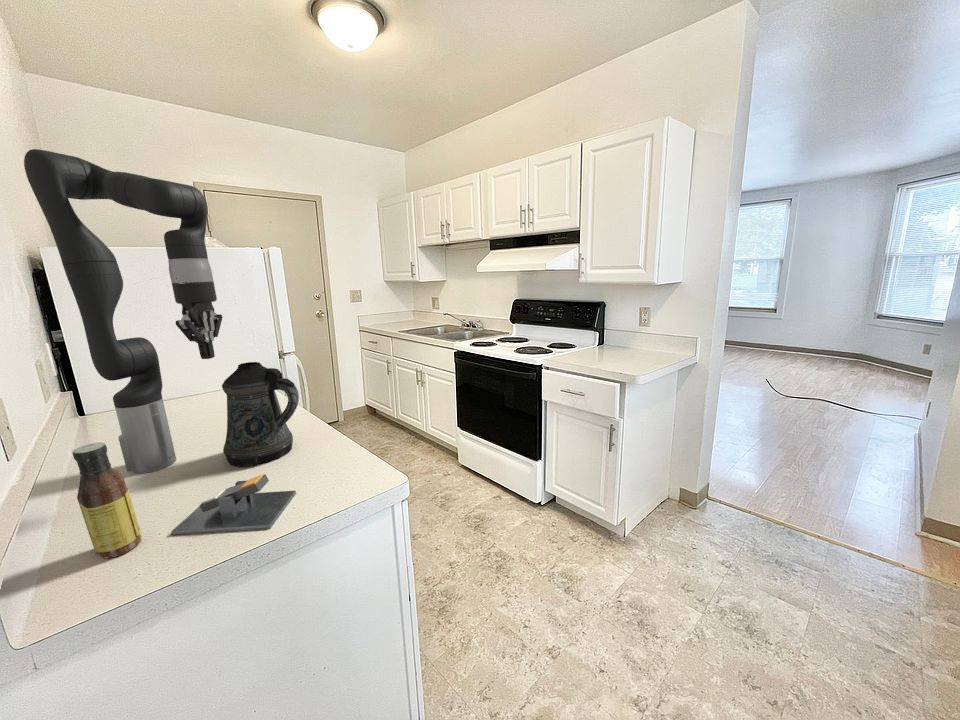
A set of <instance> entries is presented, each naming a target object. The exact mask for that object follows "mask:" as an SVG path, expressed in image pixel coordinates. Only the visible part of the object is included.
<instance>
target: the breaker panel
mask: <svg viewBox="0 0 960 720" xmlns="http://www.w3.org/2000/svg"><path fill="white" fill-rule="evenodd" d="M248 480H249V479H248ZM248 480H237V481H236V482H235V484H234V486H235V485H238V484H241V483H243V482H246V481H248ZM296 494H297V490H285V491H284V490H283V491H282V490H281V491H267V492H265V491H264V492H256V493H253V494H251V495H248V496H245V497H243V498H240V499H238V500H235V501H234V496H229V497H220V498H219V499H218V504H219V507H216V508H214V509H211V510H208V511H206V512H203V511H202V509H201V508H200V506H199V505H198V506H197V508H195V510H194V511H192V512H191V513H190V514H189V515H188V516H187V517H186V518H185V519H184V520H182V521H181V522H180V523H179V524H178V525H177V526H175V527H174V528H173V529H172V530H171V532H170V533H171V536H179V535H197V534H210V533H211V534H212V533H226V532H227V533H228V532H238V531H253V530H270V529H271V528H272V527H273V526H274V524H275V523H276V522H277V520H279V518H280V516H282V514H283V512H284V511H285V510H286V508H287V507H288V506H289V504H290V502H291V501H292V500H293V498H294V497H295V496H296Z"/></svg>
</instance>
